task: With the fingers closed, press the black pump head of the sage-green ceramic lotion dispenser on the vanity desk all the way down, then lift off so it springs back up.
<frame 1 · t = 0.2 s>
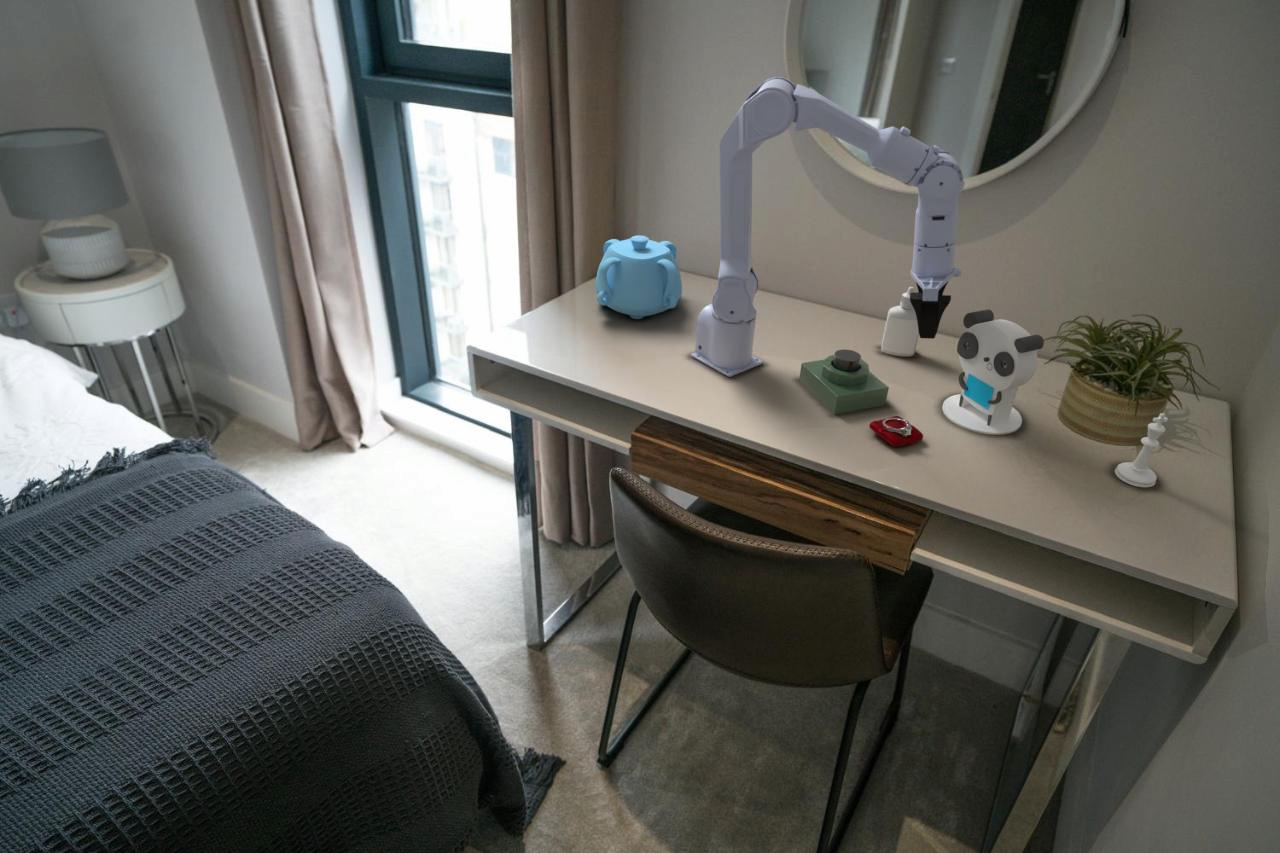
hand: (928, 326, 121), 10 cm above the table, tool pointing down, fingers open, 7 cm apart
decorative pot: (638, 307, 151), on the table
dispenser: (840, 392, 124), on the table
engagement ring: (894, 438, 114), on the table
chess piece: (1134, 477, 107), on the table
panda figurine: (979, 414, 120), on the table
pump: (846, 361, 121), point 6 cm above the table, slide at 0.1 cm
eye dropper bottle: (896, 353, 137), on the table
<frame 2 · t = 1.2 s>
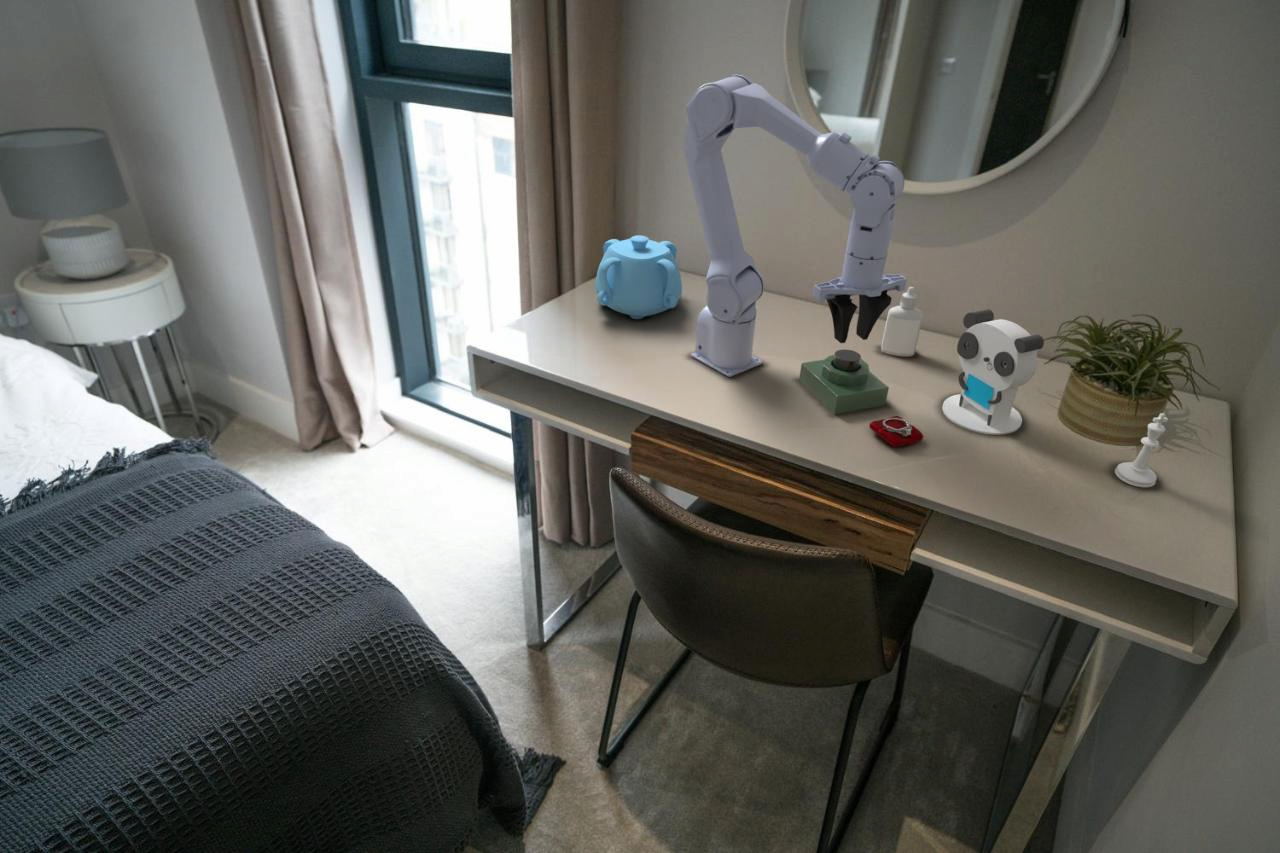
hand: (850, 338, 119), 10 cm above the table, tool pointing down, fingers open, 3 cm apart
nothing on the table moved.
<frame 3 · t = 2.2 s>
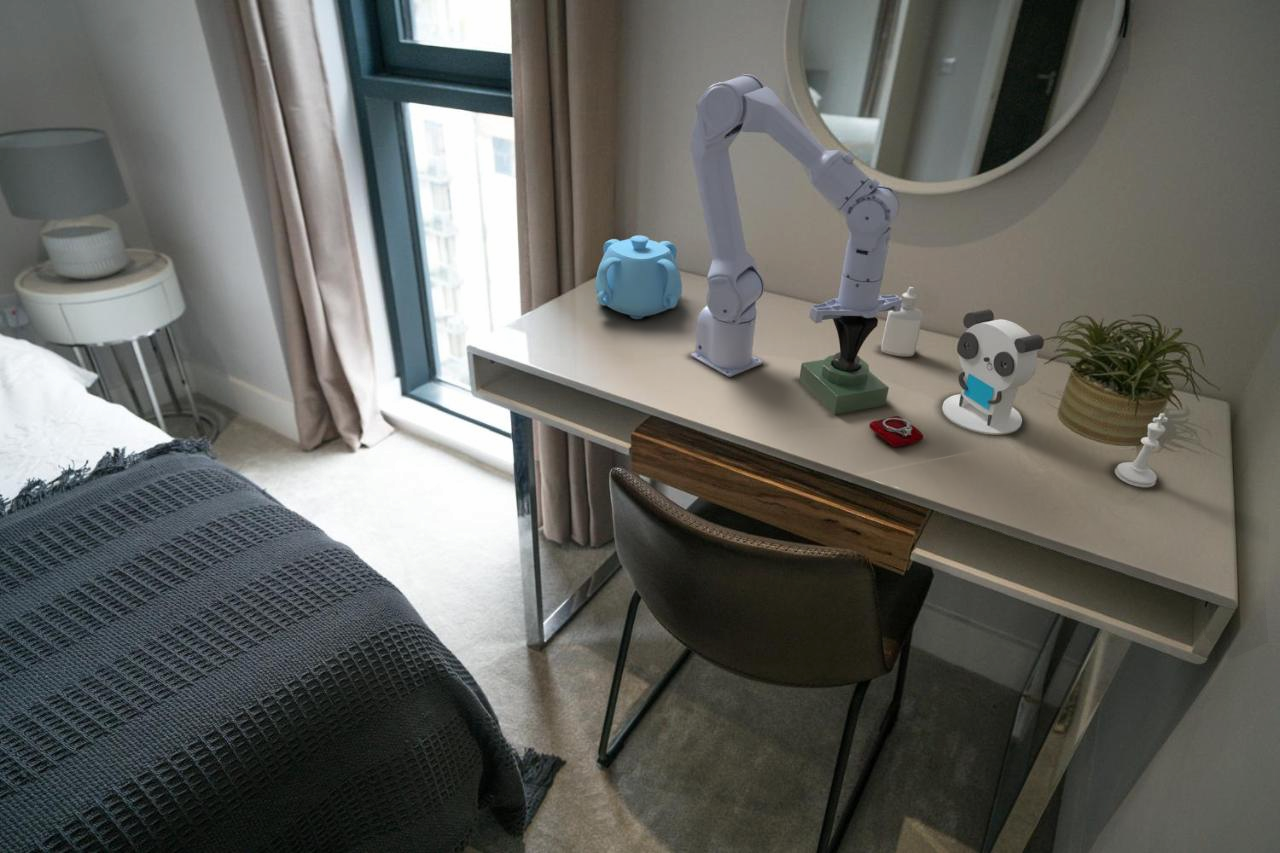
hand: (847, 357, 121), 6 cm above the table, tool pointing down, fingers closed, pressing on pump
pump: (846, 363, 122), point 5 cm above the table, slide at -0.3 cm, touching gripper
everything else where it was.
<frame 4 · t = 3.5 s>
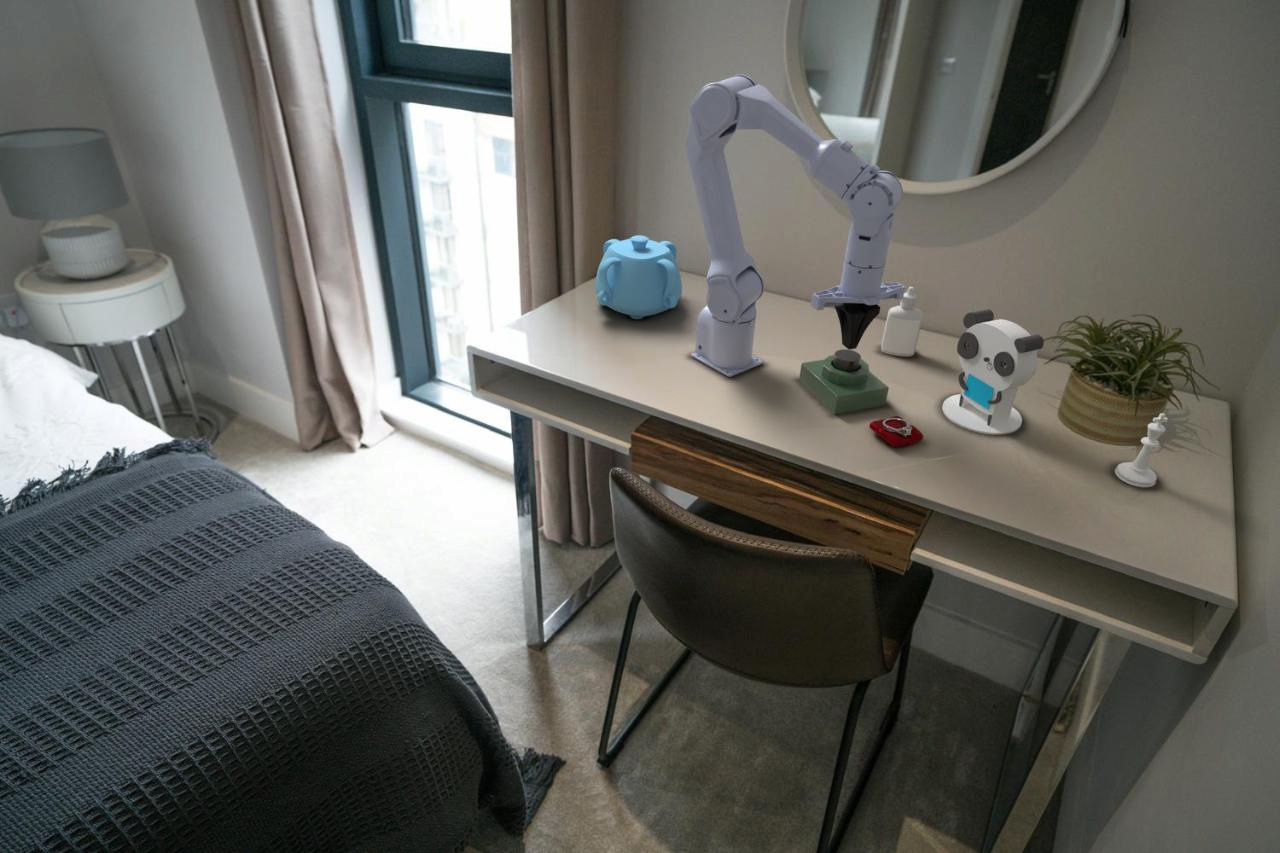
hand: (849, 346, 120), 8 cm above the table, tool pointing down, fingers closed
pump: (846, 361, 121), point 6 cm above the table, slide at 0.1 cm
everything else where it was.
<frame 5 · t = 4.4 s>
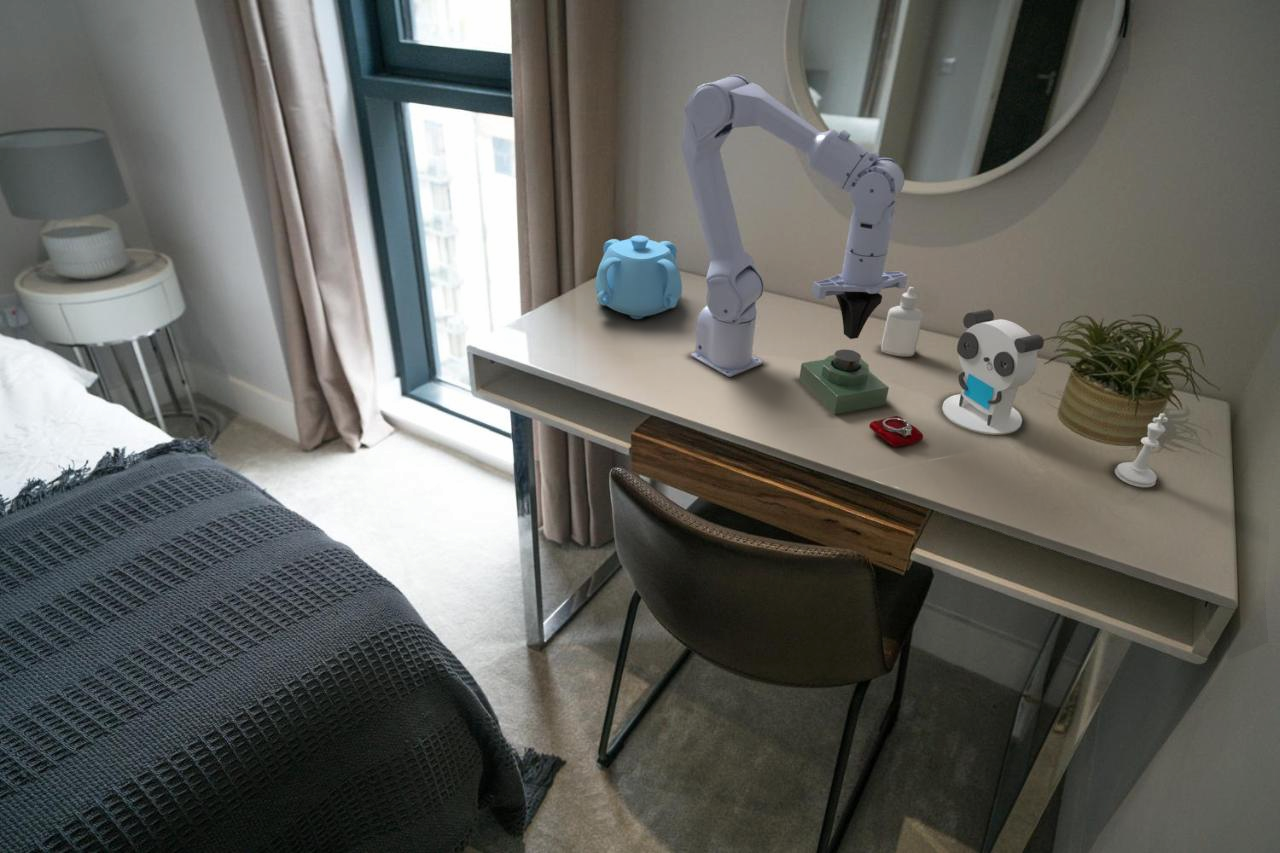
hand: (850, 335, 119), 10 cm above the table, tool pointing down, fingers closed
nothing on the table moved.
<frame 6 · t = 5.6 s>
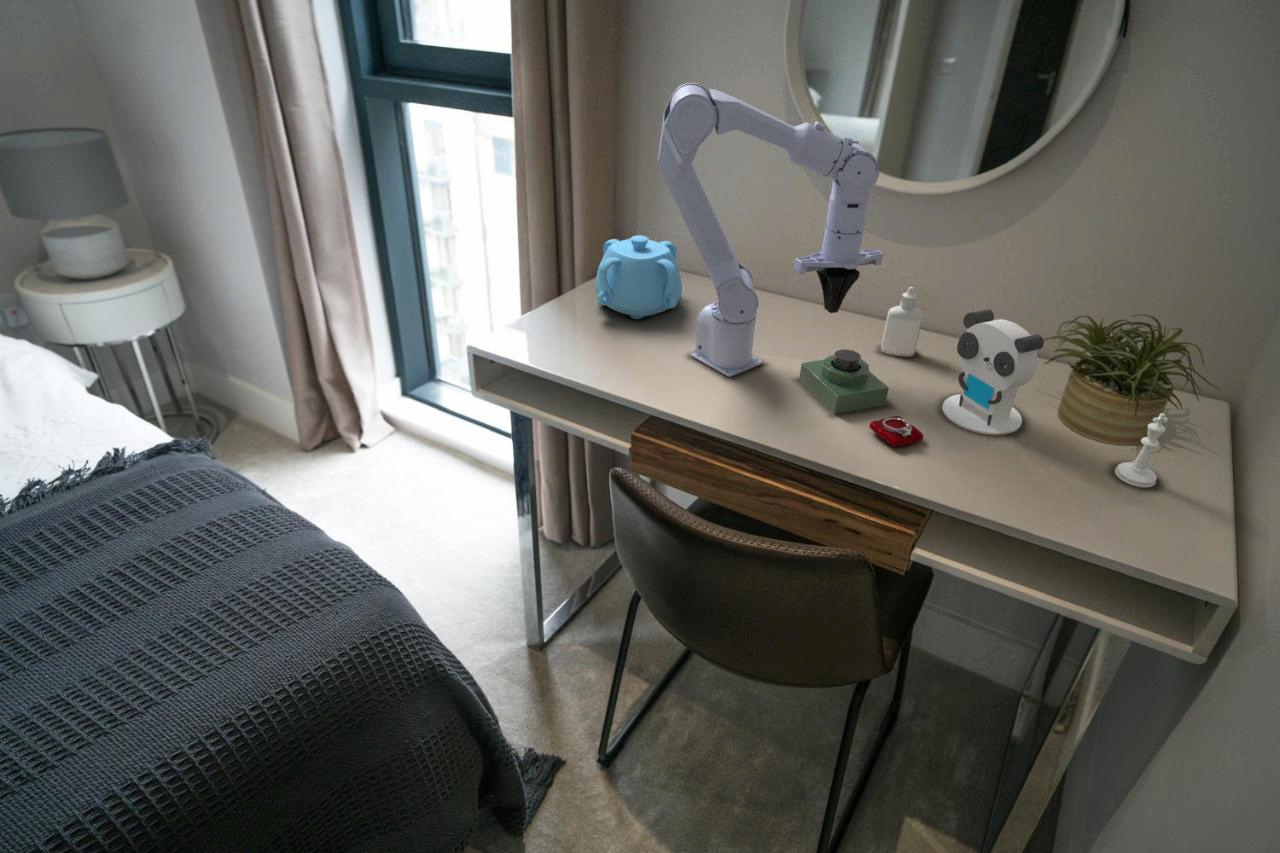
hand: (831, 310, 127), 10 cm above the table, tool pointing down, fingers closed
nothing on the table moved.
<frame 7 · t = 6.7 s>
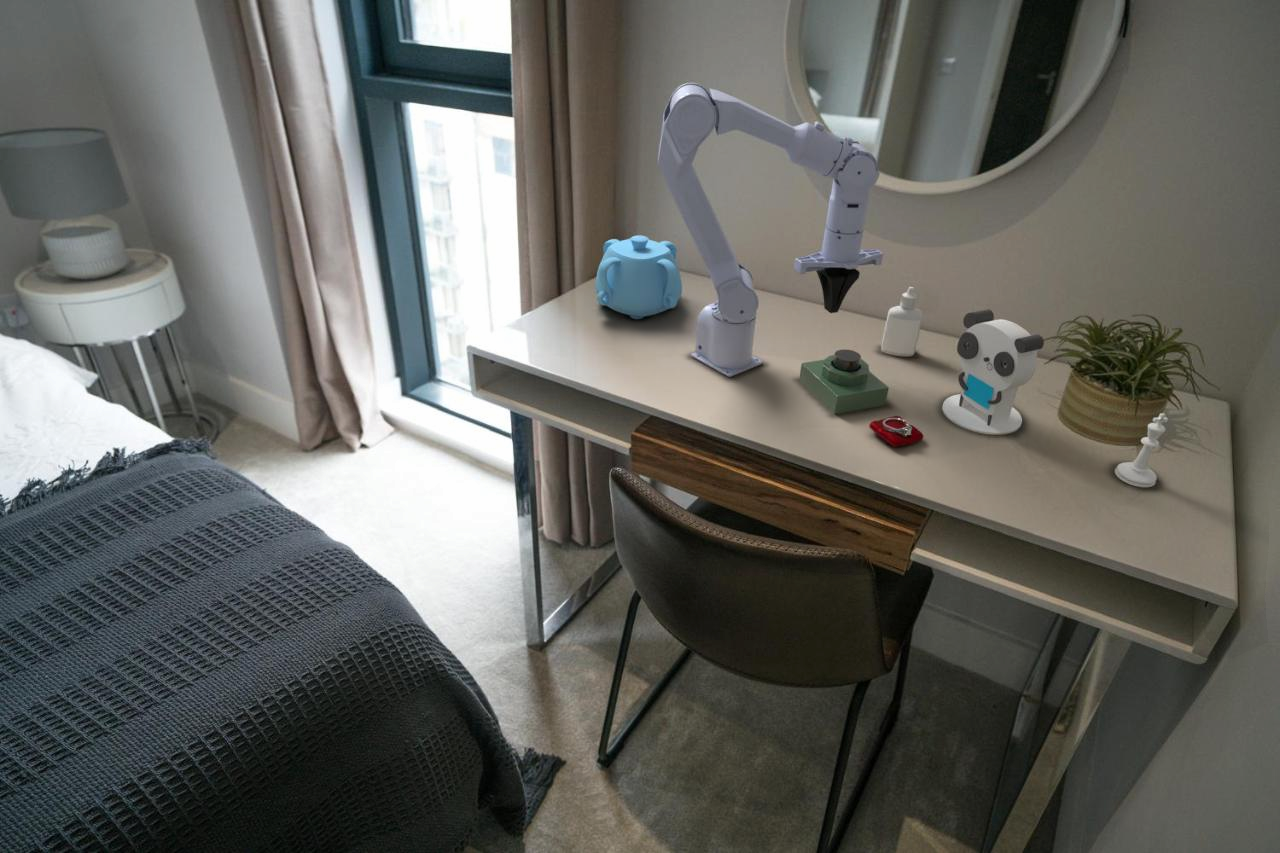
hand: (831, 310, 127), 10 cm above the table, tool pointing down, fingers closed
nothing on the table moved.
at the end: pump pushed in 1.2 cm at the most during the clip, back to where it started at the end; pump slide at 0.1 cm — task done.
